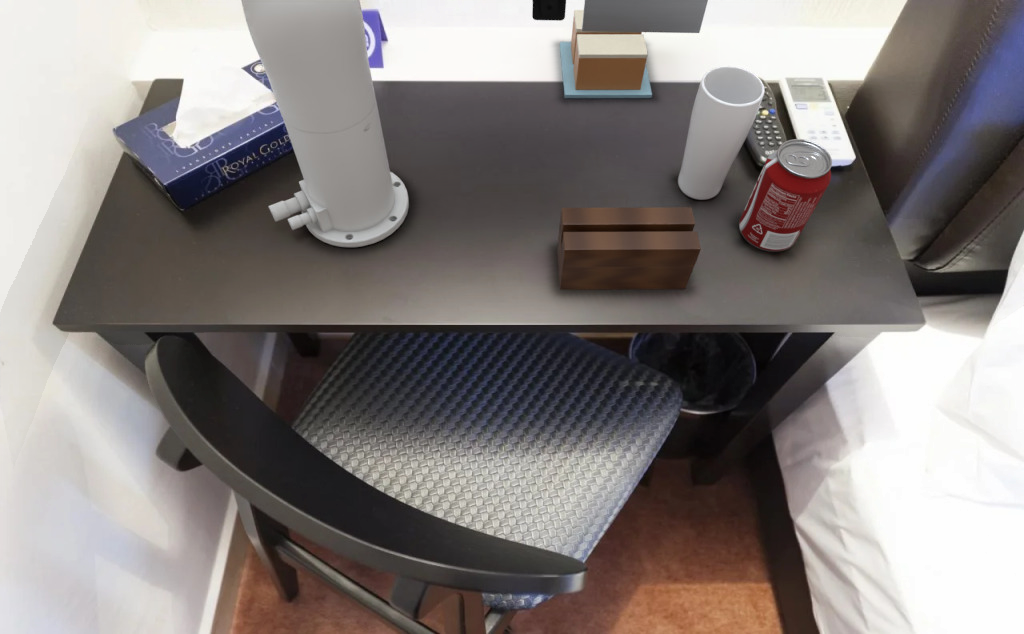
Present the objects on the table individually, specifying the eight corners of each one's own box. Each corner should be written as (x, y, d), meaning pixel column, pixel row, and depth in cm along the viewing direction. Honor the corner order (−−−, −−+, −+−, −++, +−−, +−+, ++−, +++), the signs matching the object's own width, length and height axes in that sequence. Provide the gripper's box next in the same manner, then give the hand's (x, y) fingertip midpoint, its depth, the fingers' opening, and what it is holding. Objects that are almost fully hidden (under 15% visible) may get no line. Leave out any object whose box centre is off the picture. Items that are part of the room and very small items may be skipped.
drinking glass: (668, 200, 81) (698, 100, 69) (673, 162, 85) (703, 60, 72) (724, 211, 80) (764, 110, 68) (727, 172, 84) (767, 70, 71)
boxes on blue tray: (564, 98, 91) (568, 59, 86) (559, 45, 98) (563, 5, 93) (651, 98, 92) (660, 59, 86) (640, 45, 98) (648, 5, 93)
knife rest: (559, 289, 74) (564, 249, 68) (557, 249, 77) (561, 207, 71) (685, 289, 74) (701, 249, 68) (677, 248, 77) (691, 206, 71)
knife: (697, 26, 69) (712, -31, 64) (700, 37, 68) (715, -21, 63) (513, 23, 69) (514, -34, 64) (513, 34, 68) (513, -24, 63)
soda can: (796, 260, 76) (840, 185, 66) (736, 250, 77) (771, 175, 67) (794, 216, 80) (836, 139, 70) (737, 207, 81) (771, 130, 71)
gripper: (513, -251, 55) (512, -33, 71) (509, -168, 47) (509, 59, 62) (603, -250, 55) (582, -32, 71) (615, -167, 47) (589, 61, 62)
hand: (548, 9), depth 66 cm, fingers closed on knife, 1 cm apart
